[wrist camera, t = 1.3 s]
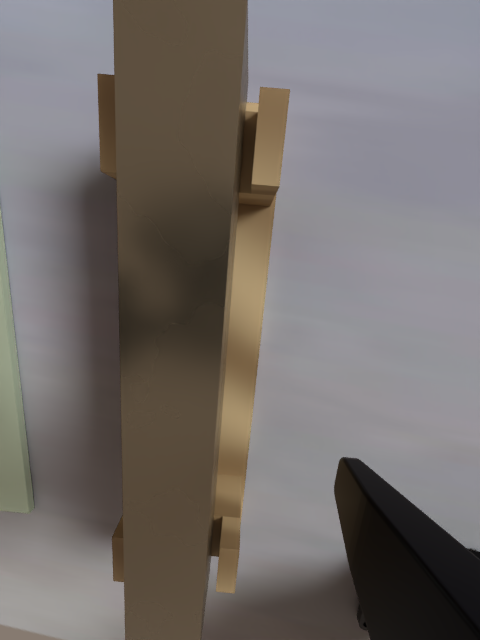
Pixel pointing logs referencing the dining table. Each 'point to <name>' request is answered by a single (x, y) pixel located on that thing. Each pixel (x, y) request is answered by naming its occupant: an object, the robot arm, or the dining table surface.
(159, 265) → the rail
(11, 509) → the mat
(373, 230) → the dining table surface
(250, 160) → the rack
